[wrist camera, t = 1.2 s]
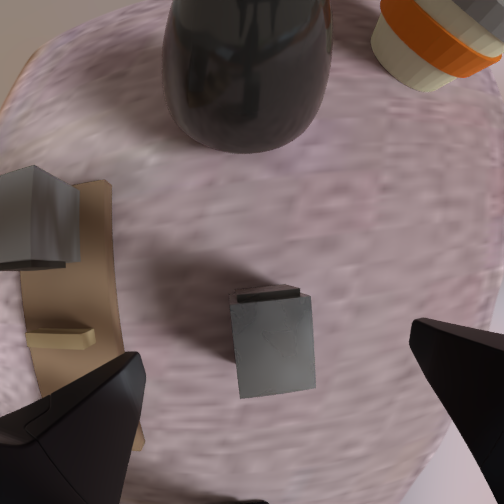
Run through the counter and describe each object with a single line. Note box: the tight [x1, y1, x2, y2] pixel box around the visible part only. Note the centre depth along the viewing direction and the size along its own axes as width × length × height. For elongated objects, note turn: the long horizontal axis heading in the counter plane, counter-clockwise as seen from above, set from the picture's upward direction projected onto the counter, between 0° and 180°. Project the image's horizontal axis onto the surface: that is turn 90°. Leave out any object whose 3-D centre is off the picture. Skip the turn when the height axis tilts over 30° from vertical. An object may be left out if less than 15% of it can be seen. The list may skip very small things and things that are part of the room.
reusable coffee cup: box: [371, 0, 504, 92], centre depth 15 cm, size 13×13×15 cm
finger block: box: [229, 284, 316, 399], centre depth 17 cm, size 5×4×6 cm
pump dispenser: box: [162, 0, 333, 154], centre depth 13 cm, size 10×10×15 cm
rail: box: [0, 165, 145, 451], centre depth 15 cm, size 20×8×8 cm, turn 5°
